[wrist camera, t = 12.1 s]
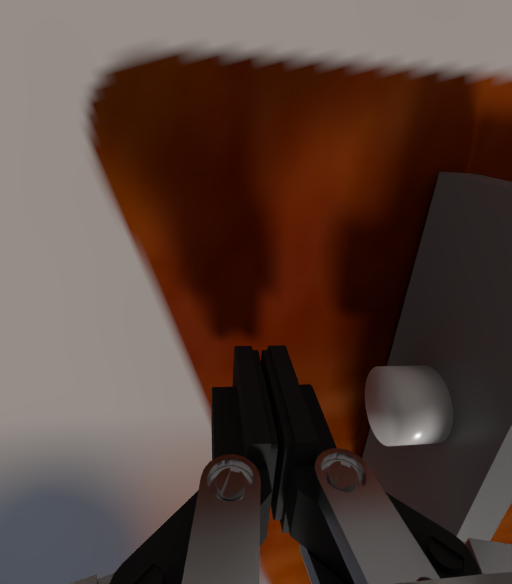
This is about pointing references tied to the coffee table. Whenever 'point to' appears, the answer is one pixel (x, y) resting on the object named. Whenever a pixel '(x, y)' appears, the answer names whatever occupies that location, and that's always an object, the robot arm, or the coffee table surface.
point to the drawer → (451, 366)
